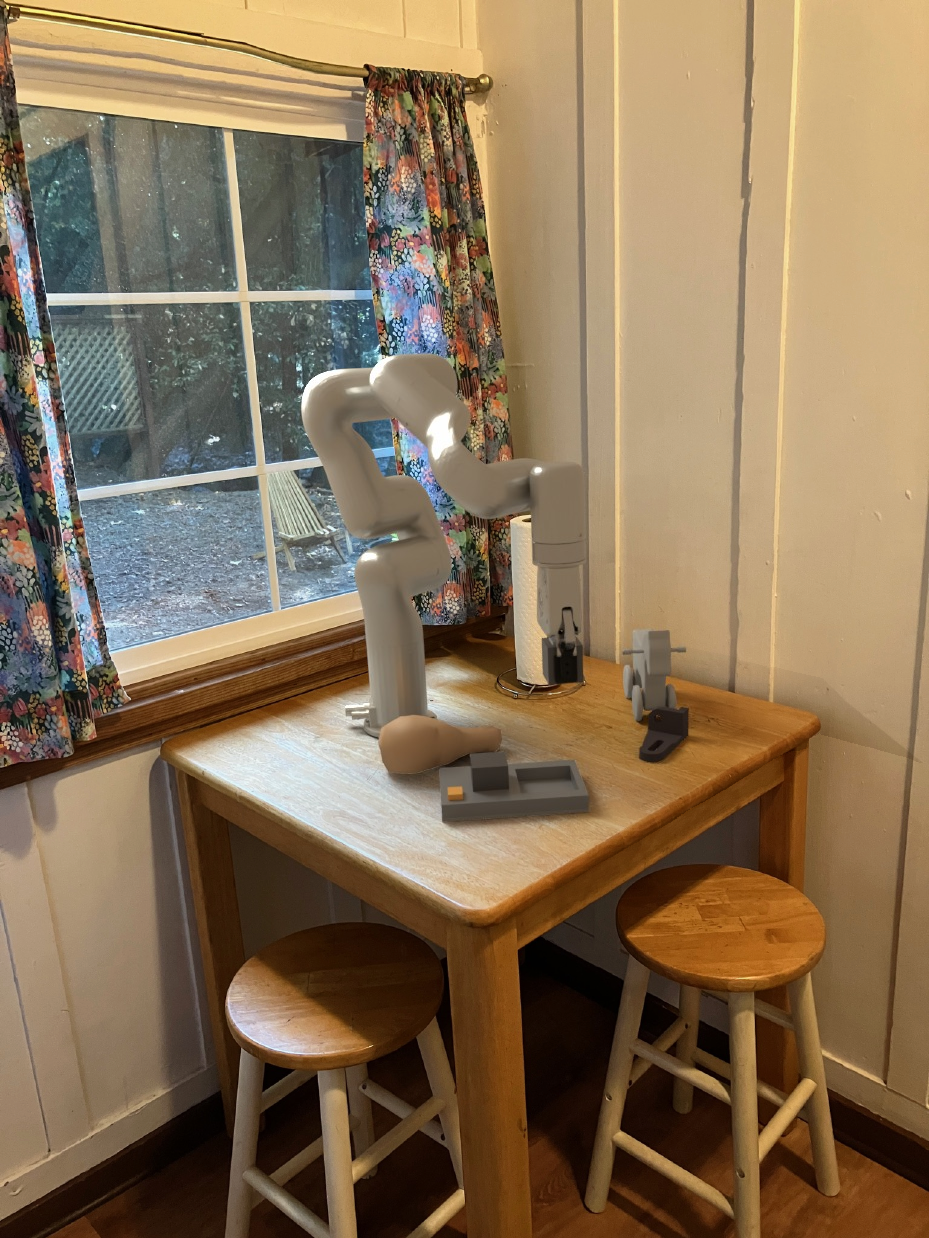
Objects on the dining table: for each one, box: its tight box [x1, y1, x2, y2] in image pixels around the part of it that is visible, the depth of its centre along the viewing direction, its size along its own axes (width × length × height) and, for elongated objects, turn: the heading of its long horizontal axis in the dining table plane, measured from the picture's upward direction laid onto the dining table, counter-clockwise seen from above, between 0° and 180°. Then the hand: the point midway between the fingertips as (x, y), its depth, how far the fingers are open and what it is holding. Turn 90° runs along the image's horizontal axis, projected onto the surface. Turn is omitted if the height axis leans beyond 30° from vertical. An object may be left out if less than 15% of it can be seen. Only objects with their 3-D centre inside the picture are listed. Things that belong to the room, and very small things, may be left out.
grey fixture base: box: [438, 751, 590, 823], centre depth 136 cm, size 20×12×6 cm, turn 93°
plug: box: [541, 635, 584, 686], centre depth 138 cm, size 5×5×6 cm
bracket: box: [638, 706, 690, 764], centre depth 151 cm, size 6×12×5 cm, turn 147°
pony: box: [622, 628, 687, 722], centre depth 164 cm, size 20×10×17 cm, turn 179°
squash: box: [377, 715, 503, 775], centre depth 148 cm, size 11×20×9 cm, turn 119°
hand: (562, 674), depth 139 cm, fingers closed on plug, 5 cm apart
